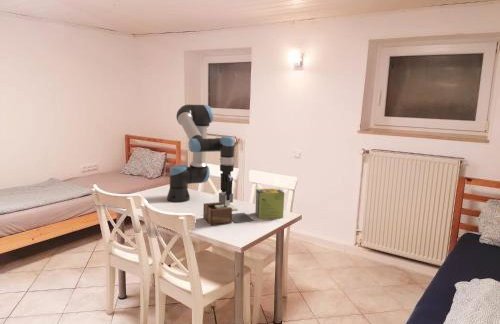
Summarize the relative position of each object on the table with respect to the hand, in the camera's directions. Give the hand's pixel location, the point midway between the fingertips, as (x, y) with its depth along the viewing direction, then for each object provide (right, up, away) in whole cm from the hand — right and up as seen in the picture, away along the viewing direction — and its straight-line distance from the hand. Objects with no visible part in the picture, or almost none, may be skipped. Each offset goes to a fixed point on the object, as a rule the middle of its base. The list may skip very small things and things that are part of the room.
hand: (225, 204), depth 202 cm
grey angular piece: (0, -3, 0) cm, 3 cm away
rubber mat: (+8, -9, +5) cm, 13 cm away
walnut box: (-5, -9, -1) cm, 10 cm away
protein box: (+25, -8, +13) cm, 30 cm away
